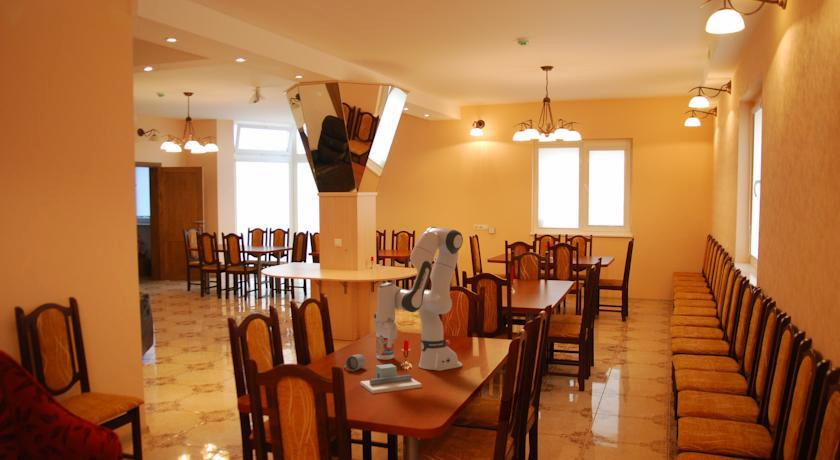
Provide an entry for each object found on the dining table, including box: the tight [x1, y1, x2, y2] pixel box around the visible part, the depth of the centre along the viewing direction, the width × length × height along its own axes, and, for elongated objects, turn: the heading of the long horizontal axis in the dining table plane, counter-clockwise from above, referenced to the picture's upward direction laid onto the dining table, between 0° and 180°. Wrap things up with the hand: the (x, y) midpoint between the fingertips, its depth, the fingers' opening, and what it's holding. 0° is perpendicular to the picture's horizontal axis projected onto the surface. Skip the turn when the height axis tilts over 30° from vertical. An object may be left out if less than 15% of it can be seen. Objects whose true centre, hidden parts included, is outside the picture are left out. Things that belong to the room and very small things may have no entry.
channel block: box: [375, 363, 398, 378], centre depth 327 cm, size 8×6×6 cm
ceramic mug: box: [343, 353, 366, 372], centre depth 345 cm, size 11×8×8 cm
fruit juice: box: [375, 332, 395, 361], centre depth 368 cm, size 9×9×28 cm
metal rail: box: [369, 373, 413, 386], centre depth 314 cm, size 20×2×2 cm, turn 115°
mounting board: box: [359, 378, 423, 394], centre depth 314 cm, size 24×16×2 cm, turn 115°
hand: (385, 345), depth 326 cm, fingers open, 8 cm apart
